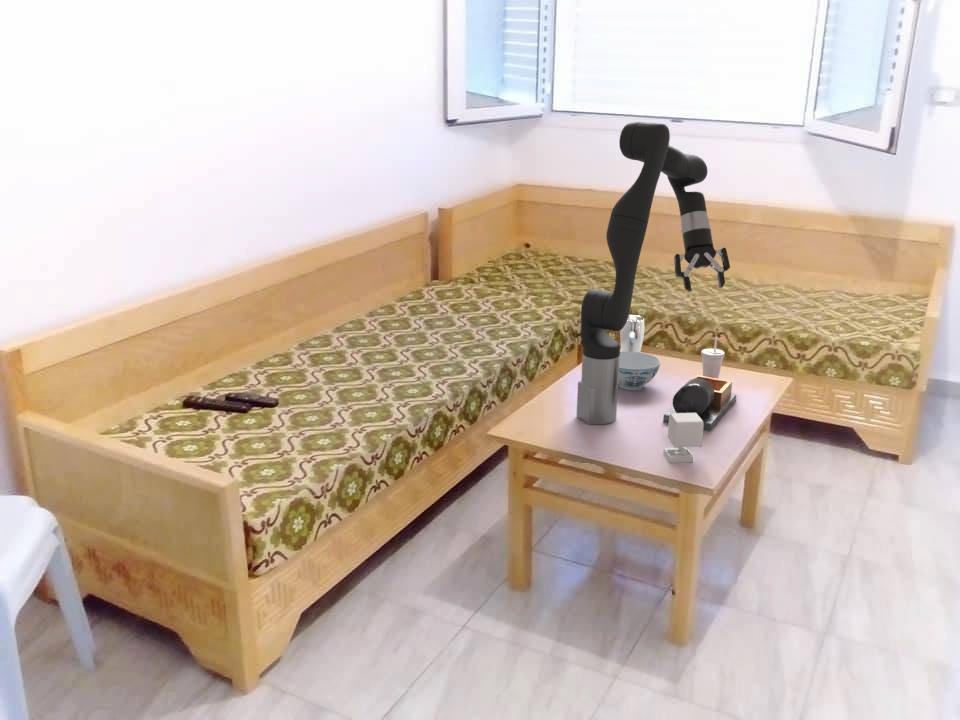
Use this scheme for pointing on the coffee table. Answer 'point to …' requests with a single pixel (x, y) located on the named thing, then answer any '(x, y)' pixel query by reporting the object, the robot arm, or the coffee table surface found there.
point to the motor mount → (703, 400)
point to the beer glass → (632, 334)
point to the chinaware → (636, 369)
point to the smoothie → (712, 361)
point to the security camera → (683, 436)
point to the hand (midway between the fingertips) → (705, 289)
